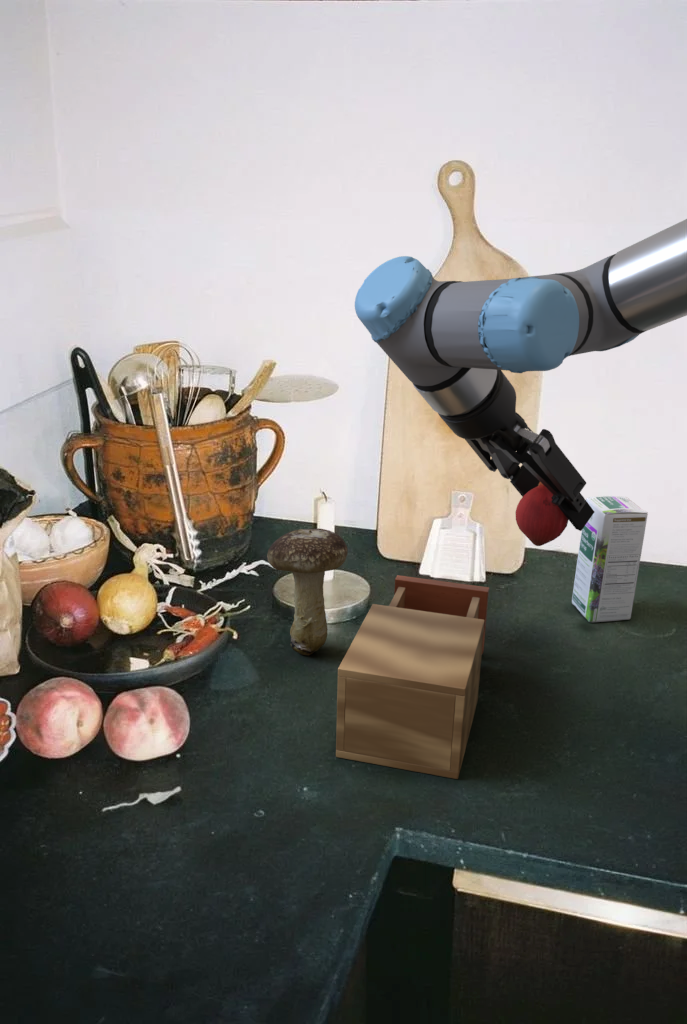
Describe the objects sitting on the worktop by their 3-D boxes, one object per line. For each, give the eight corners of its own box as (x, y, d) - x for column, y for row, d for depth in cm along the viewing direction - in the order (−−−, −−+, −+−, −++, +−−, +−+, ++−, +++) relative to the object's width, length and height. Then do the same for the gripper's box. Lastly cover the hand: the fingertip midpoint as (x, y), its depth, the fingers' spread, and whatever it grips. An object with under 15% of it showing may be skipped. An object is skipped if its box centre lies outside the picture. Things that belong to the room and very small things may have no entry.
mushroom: (291, 682, 100) (292, 554, 95) (252, 647, 107) (251, 526, 102) (363, 659, 105) (368, 536, 100) (322, 627, 112) (325, 510, 106)
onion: (569, 541, 108) (577, 475, 105) (558, 559, 103) (566, 491, 100) (520, 532, 110) (526, 467, 107) (506, 549, 105) (513, 482, 102)
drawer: (402, 617, 113) (405, 558, 110) (488, 630, 110) (494, 569, 108) (368, 691, 97) (371, 624, 94) (468, 708, 95) (474, 640, 92)
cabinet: (369, 683, 100) (372, 603, 97) (477, 701, 98) (484, 619, 94) (335, 757, 88) (337, 668, 85) (458, 779, 85) (465, 688, 82)
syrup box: (569, 602, 120) (582, 496, 114) (612, 600, 121) (627, 494, 115) (588, 623, 114) (603, 513, 109) (633, 620, 115) (650, 510, 110)
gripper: (557, 377, 86) (648, 510, 101) (428, 343, 100) (524, 464, 115) (510, 441, 85) (609, 566, 100) (387, 398, 99) (489, 513, 114)
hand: (564, 511), depth 107 cm, fingers closed on onion, 6 cm apart
